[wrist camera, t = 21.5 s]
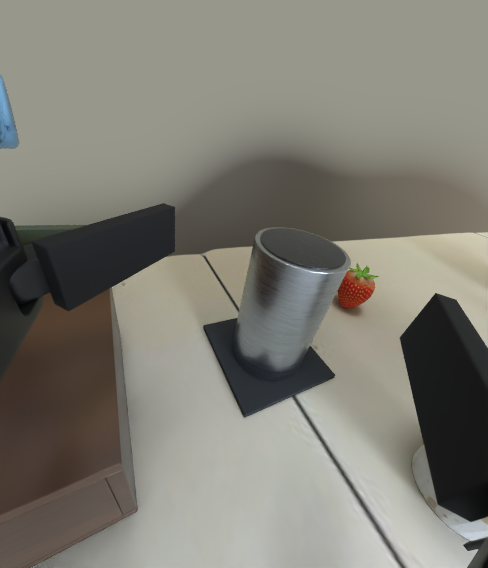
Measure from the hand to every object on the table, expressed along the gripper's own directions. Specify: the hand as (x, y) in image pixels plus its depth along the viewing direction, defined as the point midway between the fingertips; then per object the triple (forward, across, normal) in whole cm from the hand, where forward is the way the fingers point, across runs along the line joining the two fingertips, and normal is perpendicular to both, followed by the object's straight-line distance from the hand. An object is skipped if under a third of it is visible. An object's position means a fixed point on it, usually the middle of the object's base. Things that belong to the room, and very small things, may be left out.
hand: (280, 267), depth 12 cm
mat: (+9, 0, -17) cm, 19 cm away
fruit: (+26, +9, -17) cm, 32 cm away
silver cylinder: (+9, 0, -16) cm, 19 cm away
